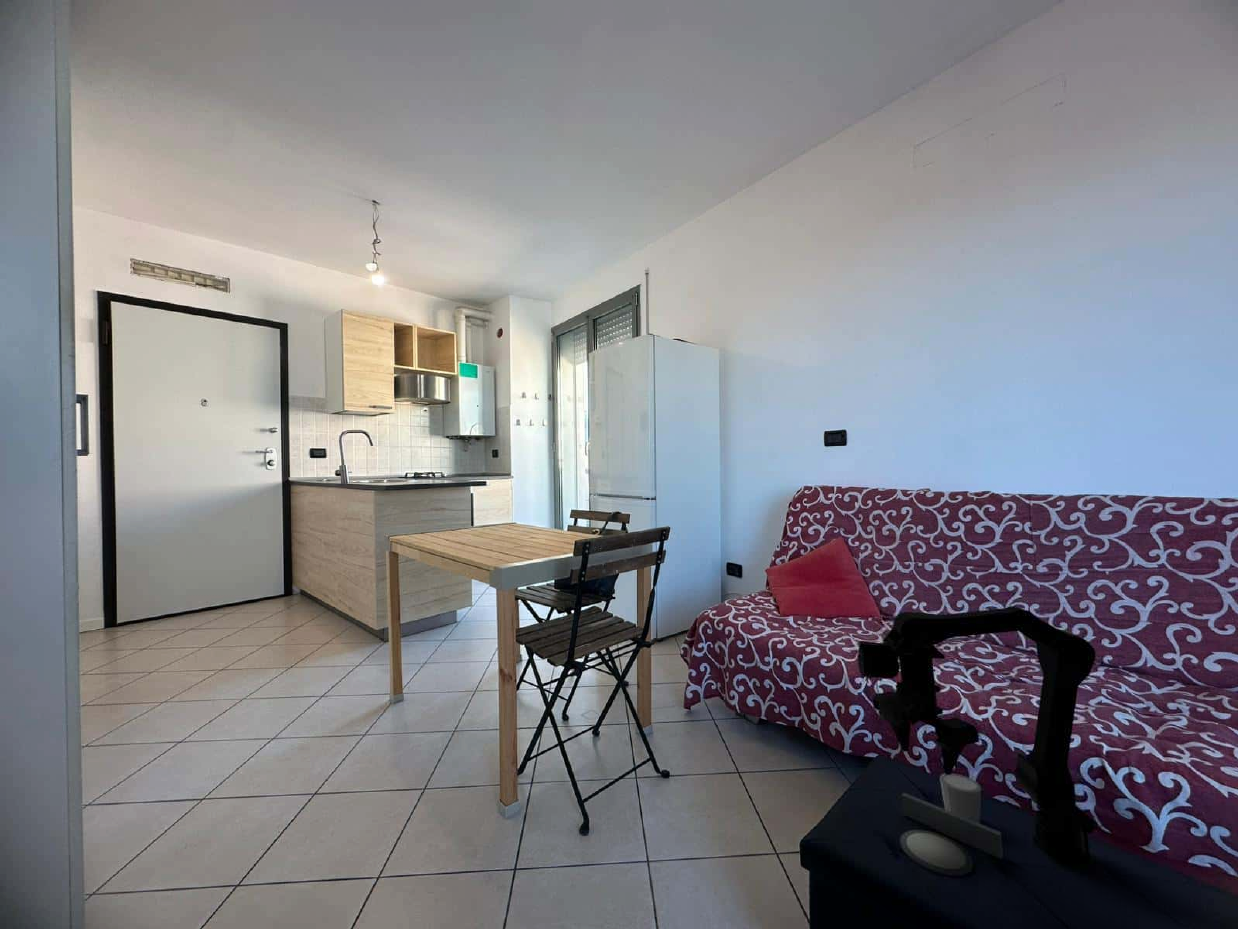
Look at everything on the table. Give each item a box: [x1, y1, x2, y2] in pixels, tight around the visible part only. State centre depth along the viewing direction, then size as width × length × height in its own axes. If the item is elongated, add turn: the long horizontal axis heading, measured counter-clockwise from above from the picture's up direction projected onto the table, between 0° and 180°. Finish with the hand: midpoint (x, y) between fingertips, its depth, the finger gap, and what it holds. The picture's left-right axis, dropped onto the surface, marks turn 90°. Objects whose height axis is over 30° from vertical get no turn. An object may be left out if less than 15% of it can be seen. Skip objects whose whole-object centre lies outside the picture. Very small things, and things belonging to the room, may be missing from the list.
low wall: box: [901, 792, 1004, 860], centre depth 91 cm, size 16×1×4 cm, turn 40°
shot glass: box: [939, 772, 982, 824], centre depth 96 cm, size 7×7×7 cm
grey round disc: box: [899, 829, 974, 877], centre depth 86 cm, size 11×11×1 cm
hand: (925, 762), depth 92 cm, fingers open, 9 cm apart
